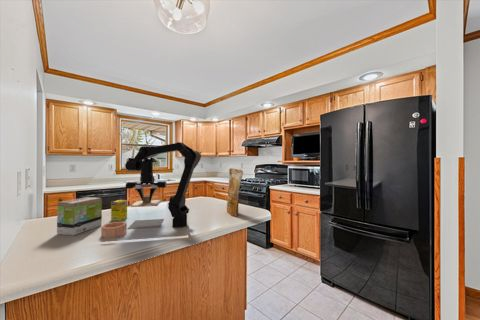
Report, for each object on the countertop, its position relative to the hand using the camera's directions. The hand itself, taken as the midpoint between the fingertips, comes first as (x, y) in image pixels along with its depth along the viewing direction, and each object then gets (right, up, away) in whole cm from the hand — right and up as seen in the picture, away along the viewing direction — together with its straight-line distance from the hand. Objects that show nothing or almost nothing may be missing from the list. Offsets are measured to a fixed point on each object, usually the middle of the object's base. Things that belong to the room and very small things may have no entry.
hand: (146, 201), depth 110 cm
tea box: (-29, -13, -6) cm, 33 cm away
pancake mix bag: (+44, -13, +25) cm, 52 cm away
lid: (0, -1, 0) cm, 1 cm away
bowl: (-8, -13, -15) cm, 21 cm away
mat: (0, -12, 0) cm, 12 cm away
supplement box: (-19, -13, +9) cm, 25 cm away
